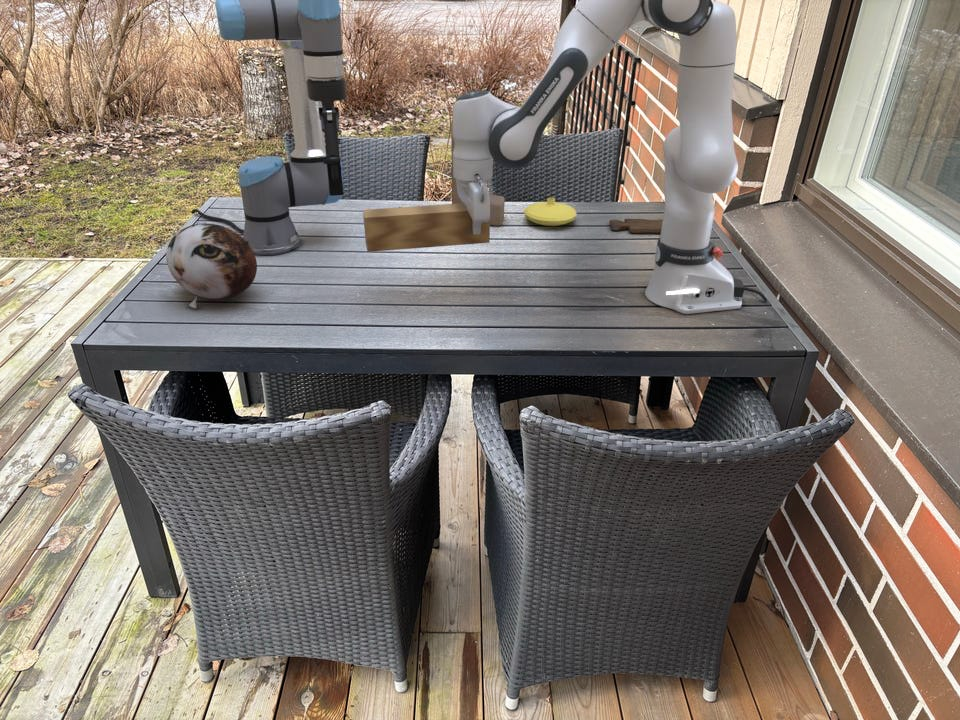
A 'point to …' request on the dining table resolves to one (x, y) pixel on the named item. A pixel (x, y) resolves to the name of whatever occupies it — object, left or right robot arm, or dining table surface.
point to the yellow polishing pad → (550, 213)
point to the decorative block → (495, 200)
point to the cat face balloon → (211, 261)
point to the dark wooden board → (637, 225)
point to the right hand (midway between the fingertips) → (473, 228)
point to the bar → (421, 227)
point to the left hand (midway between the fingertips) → (335, 185)
